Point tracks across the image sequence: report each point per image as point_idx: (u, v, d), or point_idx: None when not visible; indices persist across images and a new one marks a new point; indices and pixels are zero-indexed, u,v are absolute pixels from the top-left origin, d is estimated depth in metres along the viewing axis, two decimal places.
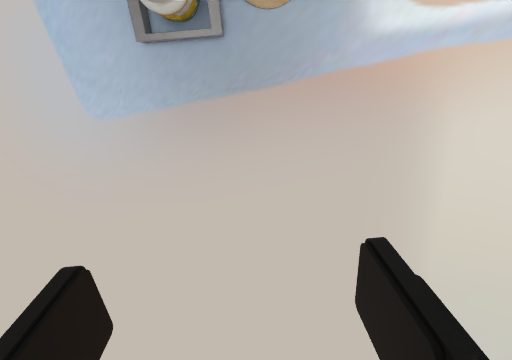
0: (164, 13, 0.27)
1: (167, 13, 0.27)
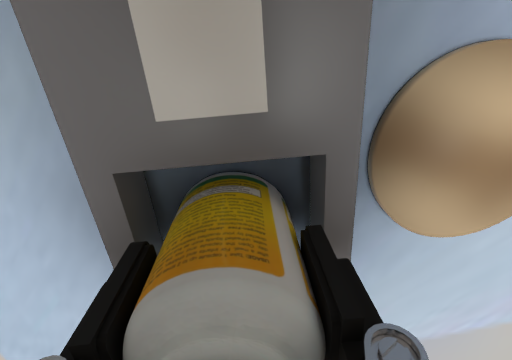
0: None
1: None
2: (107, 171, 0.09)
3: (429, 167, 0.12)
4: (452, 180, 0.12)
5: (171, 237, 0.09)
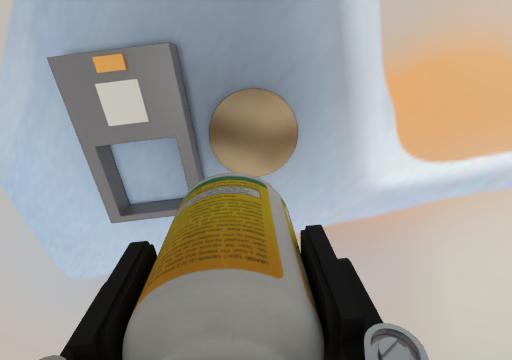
0: None
1: None
2: (92, 145, 0.25)
3: (235, 142, 0.27)
4: (248, 148, 0.28)
5: (171, 238, 0.09)
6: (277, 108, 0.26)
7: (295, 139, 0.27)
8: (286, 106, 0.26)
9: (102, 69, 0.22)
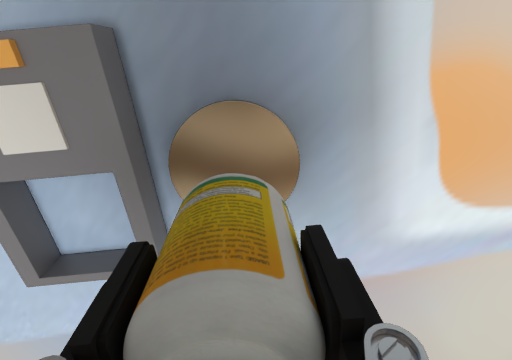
0: None
1: None
2: None
3: (208, 177, 0.19)
4: None
5: (171, 239, 0.09)
6: (270, 131, 0.18)
7: (295, 175, 0.19)
8: (284, 128, 0.18)
9: None
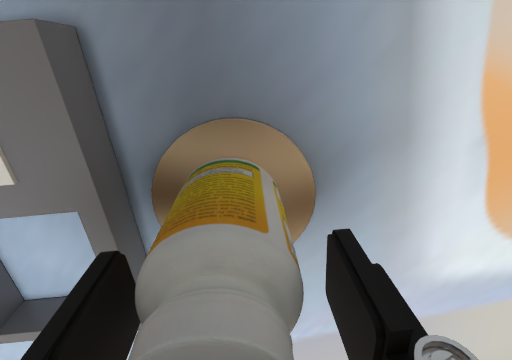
0: None
1: None
2: None
3: None
4: None
5: (174, 208, 0.10)
6: (279, 157, 0.14)
7: (310, 208, 0.15)
8: (297, 153, 0.14)
9: None
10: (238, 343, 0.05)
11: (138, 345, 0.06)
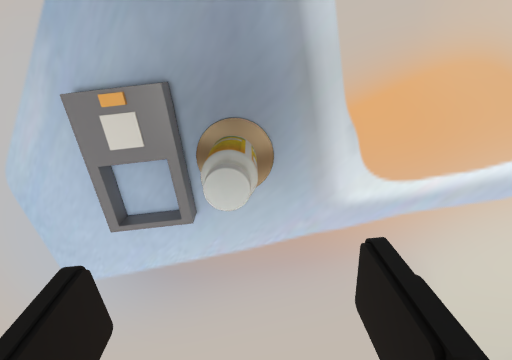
0: None
1: None
2: (96, 166, 0.29)
3: None
4: None
5: (211, 151, 0.27)
6: (255, 135, 0.30)
7: (271, 161, 0.32)
8: (262, 133, 0.30)
9: (105, 104, 0.26)
10: (233, 169, 0.22)
11: (208, 174, 0.22)
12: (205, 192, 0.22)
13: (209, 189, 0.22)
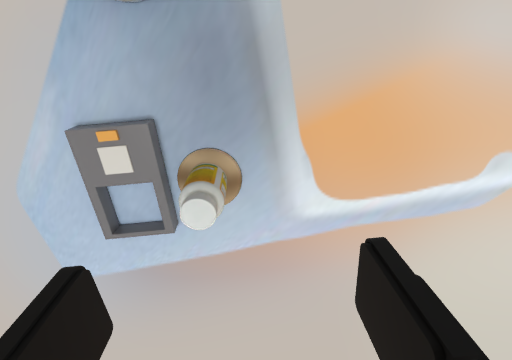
0: None
1: None
2: (93, 186, 0.35)
3: None
4: None
5: (188, 179, 0.33)
6: (226, 162, 0.37)
7: (240, 183, 0.38)
8: (232, 161, 0.37)
9: (102, 139, 0.33)
10: (203, 200, 0.28)
11: (183, 202, 0.29)
12: (181, 216, 0.29)
13: (184, 214, 0.29)
